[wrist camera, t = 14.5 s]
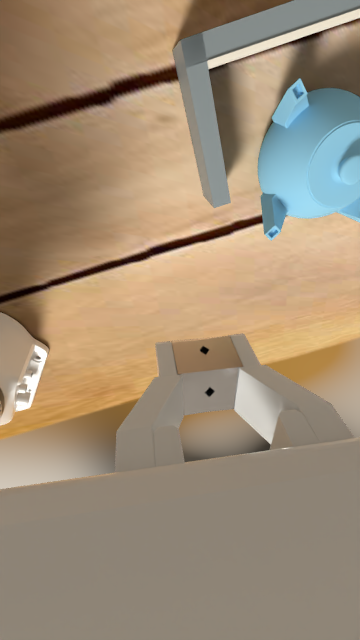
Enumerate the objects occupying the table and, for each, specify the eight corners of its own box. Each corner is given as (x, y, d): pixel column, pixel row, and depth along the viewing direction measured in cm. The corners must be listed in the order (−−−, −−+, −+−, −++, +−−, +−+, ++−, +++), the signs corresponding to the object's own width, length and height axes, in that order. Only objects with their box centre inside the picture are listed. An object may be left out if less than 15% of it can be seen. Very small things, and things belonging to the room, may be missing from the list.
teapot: (342, 215, 45) (394, 241, 36) (242, 220, 43) (272, 249, 34) (380, 84, 36) (461, 76, 27) (257, 84, 34) (302, 75, 26)
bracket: (412, 128, 39) (455, 131, 34) (203, 196, 40) (214, 208, 35) (439, -42, 31) (502, -73, 25) (172, 50, 32) (180, 39, 27)
